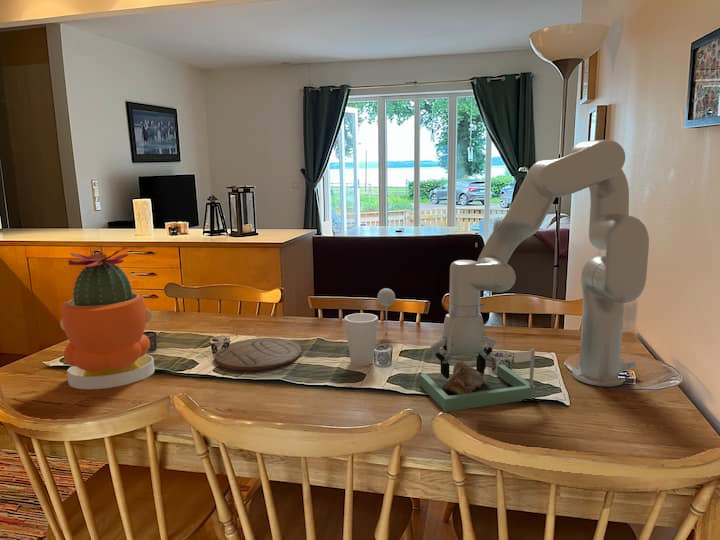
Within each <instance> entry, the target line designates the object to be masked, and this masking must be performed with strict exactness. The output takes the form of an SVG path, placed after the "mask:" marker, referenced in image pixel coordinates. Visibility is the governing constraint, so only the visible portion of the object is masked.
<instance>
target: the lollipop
mask: <svg viewBox="0 0 720 540" xmlns="http://www.w3.org/2000/svg"><path fill="white" fill-rule="evenodd" d="M376 298H377V302H378V303H379V304H380V305H382V306H383V307H385V332H386V333H388V307H389V306H391V305H393V304H394V302H395V300H396V294H395V291H393V290H392V289H390V288H387V287H385V288H382V289H380V290H379V292H378V293H377V297H376Z"/></svg>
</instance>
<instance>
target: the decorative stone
mask: <svg viewBox="0 0 720 540" xmlns="http://www.w3.org/2000/svg"><path fill="white" fill-rule="evenodd" d="M483 384H484V374H482V373H480V372H479V371H477V370H476V368H474V367H471V366H470V365H469V364H467V363H466V362H465V361H463V360H462V361H458V362H455V365H454V367H453V371H452V375H451V376H450V377H449V379H448V380H447V381H446V382H445V383H444V384H442V385H443V386H442V388H443V389H444V390H446V391H448V392H451V393H454V394H455V395H459V394H466V393H473V392H475V390H476V389H477V388H479V389H480V388H481V387H482V385H483Z"/></svg>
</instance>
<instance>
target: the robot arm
mask: <svg viewBox="0 0 720 540" xmlns="http://www.w3.org/2000/svg"><path fill="white" fill-rule="evenodd" d="M625 161H626V152H625V150H624V148H623V146H622V145H621V144H620V143H619V142H617V141H615V140H612V139H599V140H586V141H582V142H579V143H577V144H576V145H574V146H573V147H572V149H570V151H569V154H568V155H565V156H563V157H560V158H556V159H544V160H543V159H542V160H538V161H537V162H535V163H533V164H532V166H530V168H529V170H528V171H527V172H526V174H525V177H524V179H523V181H522V183H521V185H520V187H519V189H518V191H517V193H516V195H515V196H514V199H513V200H512V203H511V205H510V206H509V209H508V211H507V212H506V214H505V216H504V217H503V219H501V221H499V223H498V225H497V226H496V228H494V230H493V232H492V233H491V234H490V235H489V237H488V239H487V241H486V242H485V244H484V246H483V248H482V250H481V252H480V253H479V256H478V258H477V261H476V260H472V259H458V260H454V261H453V262H451V264H450V266H449V298H448V299H449V300H448V301H449V305H448V308H449V309H448V313H447V314H445V317H444V322H443V327H442V335H441V339H439V340H438V341H437V342H435V343H433V344H432V345H431V346H430V348H431V350H432V353H433V355H434V356H435V357H436V358H437V359H438V360H439V361H440V374H441V375H442V376H443V377H444V378H445V379H447V380H449V379H450V363H449V361H450V360H451V358H452V357H456V356H465V355H475V354H477V356H476V362H475V363H476V366H475V367H476V368H475V369H476V370H477V371H479V372H480V373H482V374H483V375H485V370H486V367H487V366H486V364H487V363H486V362H487V361H486V360H488V357H489V356H490V354H491V353H492V352H493V349H494V347H495V346H496V343H497V342H496V340H495V339H494V338H491V337H489V336H486V335H485V327H484V326H485V325H484V324H485V323H484V319H483V316H482V314H481V310H484V309H485V304H484V303H481V291H483V292H484V291H485V292H492V293H502V292H503V293H504V292H507V291H509V290H510V289H512V288H513V287H514V285H515V282H516V277H517V276H516V272H515V269H514V268H513V267H512V266H511V265H510V264H508V262H509V260H510V258H511V257H512V254H513V253H514V251H515V250H516V248H517V247H518V246H520V244H521V243H522V242H523V241H524V240H526V239H527V238H531V236H533V235H535V234H536V233H537V232H538V231H539V230H540V228H541V227H542V225H543V222H544V221H545V219H546V216H547V215H548V213H549V210H550V209H551V207H552V205H553V203H554V201H555V199H556V198H562V197H566V196H569V195H572V194H575V193H577V192H581V191H583V190H584V189H586V188H588V189H589V194H590V208H589V209H590V210H589V223H588V225H589V226H588V239H589V242H590V244H591V245H592V247H594V248H596V249H597V250H600V251H602V252H605V255H597V256H594V257H592V258H590V259H589V260H588V261H587V262H585V264H584V266H583V268H582V270H581V275H580V280H581V291H582V313H581V315H582V316H581V328H580V329H581V330H580V347H579V362H578V365H577V366H576V367H573V369H572V373H571V374H572V376H573V378H575V379H576V380H577V381H579V382H582V383H584V384H587V385H591V386H597V387H606V388H607V387H610V388H611V387H618V386H620V385H621V386H622V385H623V384H624V383H623V382H624V379H622V380H621V379H619V378H618V376H619V373H624V372H625V370H631V369H633V370H634V369H635V368H636V362H635V361H633V360H631V361H624V360H623V359H621V356H622V354H621V353H622V340H623V327H624V315H625V310H624V309H625V308H624V307H625V306H624V304H628V303H629V304H630V303H632V302H634V301H636V300H637V299H638V298H639V297H640V296H641V294H642V293H643V291H644V289H645V286H646V281H647V274H648V273H647V272H648V260H649V249H650V248H649V246H650V238H649V237H650V236H649V232H648V229H647V227H646V226H645V224H644V223H643V222H642V220H640V219H638V218H637V217H635V216H631V215H630V208H629V207H630V189H629V188H630V186H629V182H628V178H627V177H626V174H625V173H624V170H623V167H624V165H625ZM485 342H486V343H487V344H486V346H485ZM440 349H442V352H441V353H440V351H439V350H440Z"/></svg>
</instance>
